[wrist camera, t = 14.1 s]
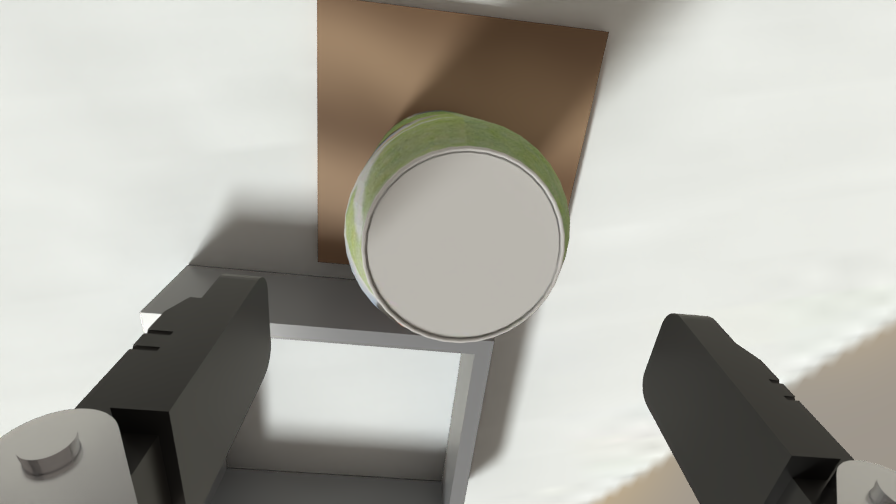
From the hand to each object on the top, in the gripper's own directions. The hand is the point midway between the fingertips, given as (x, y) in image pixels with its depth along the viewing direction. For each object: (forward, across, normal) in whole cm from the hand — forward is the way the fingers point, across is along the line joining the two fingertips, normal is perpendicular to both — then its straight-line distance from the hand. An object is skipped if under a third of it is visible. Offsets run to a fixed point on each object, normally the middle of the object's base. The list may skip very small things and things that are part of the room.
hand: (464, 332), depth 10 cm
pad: (+14, 0, 0) cm, 15 cm away
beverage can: (+14, 0, 0) cm, 14 cm away
